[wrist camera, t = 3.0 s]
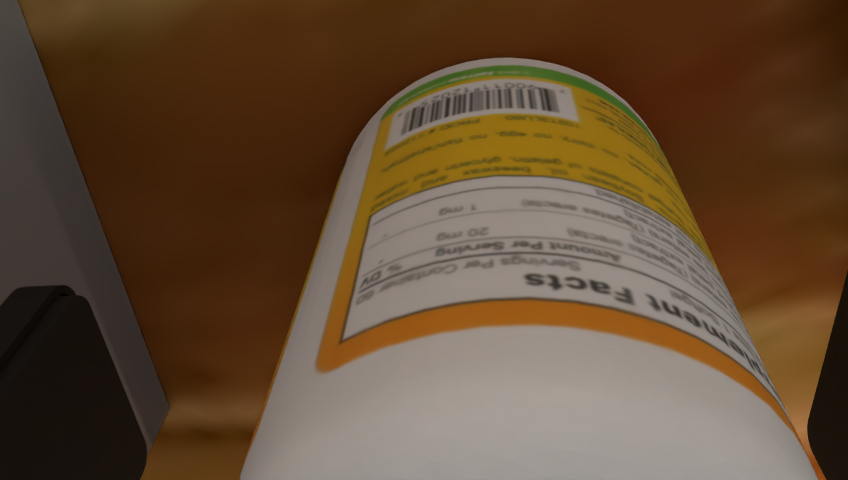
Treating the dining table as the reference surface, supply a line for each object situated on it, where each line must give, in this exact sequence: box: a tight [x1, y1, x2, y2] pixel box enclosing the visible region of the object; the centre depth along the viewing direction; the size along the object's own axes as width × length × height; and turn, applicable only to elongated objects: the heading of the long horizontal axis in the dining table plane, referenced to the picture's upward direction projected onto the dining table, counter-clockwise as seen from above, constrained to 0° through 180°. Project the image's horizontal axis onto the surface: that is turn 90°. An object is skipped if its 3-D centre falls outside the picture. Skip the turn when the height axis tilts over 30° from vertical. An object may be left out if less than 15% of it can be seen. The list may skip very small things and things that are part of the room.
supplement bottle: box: [239, 58, 818, 480], centre depth 8 cm, size 5×5×10 cm
